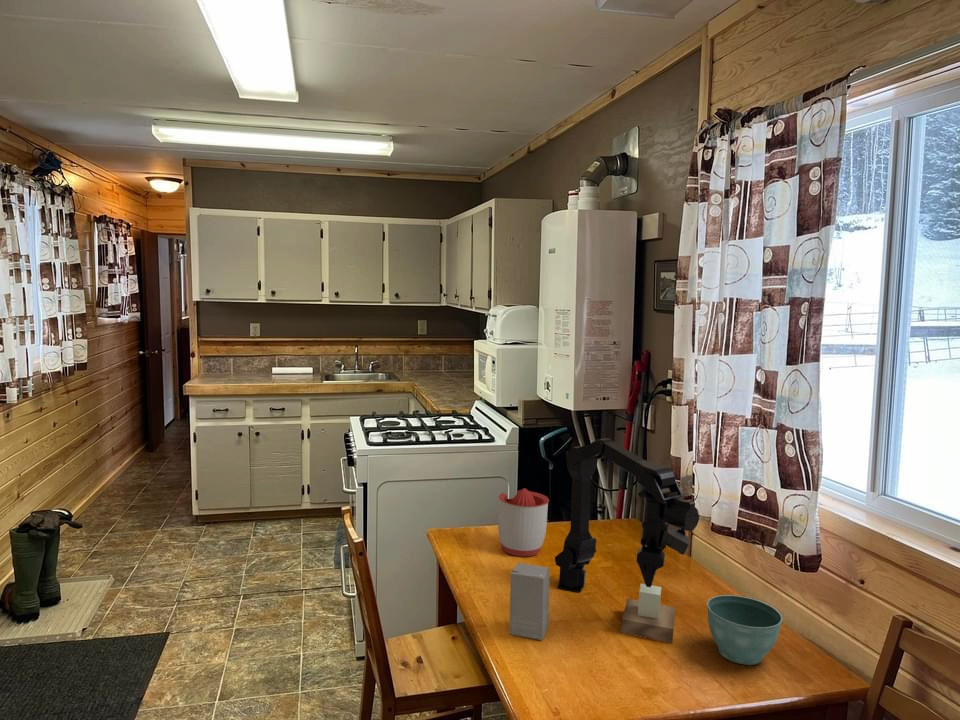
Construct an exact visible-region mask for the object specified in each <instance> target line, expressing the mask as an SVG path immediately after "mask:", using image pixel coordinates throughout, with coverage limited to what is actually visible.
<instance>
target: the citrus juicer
mask: <svg viewBox="0 0 960 720" xmlns="http://www.w3.org/2000/svg"><path fill="white" fill-rule="evenodd" d="M498 499H499V504H498V518H497V519H498V520H497V521H498V522H497V529H498V537H499V543H500V546H501V550H503V552H505V553H506V554H508V555H512V556H515V557H518V558H519V557H532V556H535V555H538V554H539V553H540V551H541V550H542V547H543V543H544V541H545V537H546V534H547V533H546V531H547V525H548V524H547V522H548V509H549V508H548V507H549V502H550V499H549V497H548V496H546V495H544V494H542V493H539V492H534V491H530V490H529V489H527V488H525V487H524V488H522V489H520V490H517V493H516V494H515V495H514V497H513V498H508V495H507V493H504V492H502V493H500V494H499V496H498Z"/></svg>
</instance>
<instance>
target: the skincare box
mask: <svg viewBox="0 0 960 720" xmlns="http://www.w3.org/2000/svg"><path fill="white" fill-rule="evenodd" d="M509 575H510V583H509V584H510V587H509V588H510V589H509V592H510V593H509V595H510V597H509V600H510V601H509V635H511V636H517V637H522V638H528V639H533V640H538V641H543V639H544V637H545V635H546V633H547V630H548V629H549V616H550V615H549V614H550V613H549V612H550V611H549V609H550V567H549V566H541V565H535V564H528V563H522V562H517V563H516V565H515V566H514V568H512V570H511V572H510V574H509Z"/></svg>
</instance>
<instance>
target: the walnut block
mask: <svg viewBox="0 0 960 720" xmlns="http://www.w3.org/2000/svg"><path fill="white" fill-rule="evenodd" d="M638 603H639V599H633V598H626V602H625V607H624V609H623V614H622V619H621V629H620V634H623V633H625V634H624V635H628V634H631V635H630V636H633V635H637V636H636V637H638V636H641V637H640V638H642V637H646V638H645V639H647V638H651V639H650V640H652V639H655V640H654V641H657V640H659V641H658V642H662V641H663V643H667V642H668V644H673V639H674V631H675V621H676V620H675V619H676V618H675V617H676V607H673V606H669V605H664V604H660V610H659V619H656V618H651V617H645V616H640V615H638Z"/></svg>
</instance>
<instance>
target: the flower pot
mask: <svg viewBox="0 0 960 720" xmlns="http://www.w3.org/2000/svg"><path fill="white" fill-rule="evenodd" d="M706 608H707V621H708V627H709V631H710V633H711V636H712V638H713V640H714V642H715V644H716V646H717V648H718V649H717V650H718V653H719V654H720V656H722V657H723V658H724V659H726V660H727V661H730V662H733V663H736V664H740V665H744V666H752V665H758V664H760V663H762V661H763V658H764V657H765V656H766V655H767V654H768V653H769V652H770V651H771V650H772V648H773V647H774V646H775V644H776V642H777V640H778V637H779V634H780V630H781V626H782V623H783V616H782V614H781V613H780V612H779V611H778V610H777V608H775V607H773V606H772V605H770V604H769V603H766V602H763V601H761V600H758V599H756V598H750V597H745V596H741V595H735V594H733V595H729V594H726V595H725V594H723V595H716V596H713V597H711V598H709V600H708V601H707V603H706Z"/></svg>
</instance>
